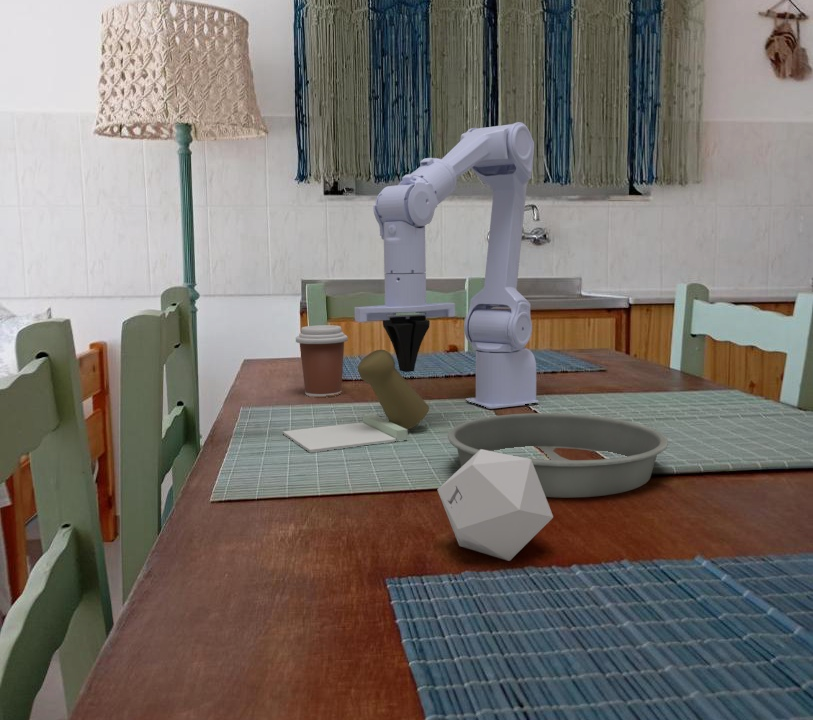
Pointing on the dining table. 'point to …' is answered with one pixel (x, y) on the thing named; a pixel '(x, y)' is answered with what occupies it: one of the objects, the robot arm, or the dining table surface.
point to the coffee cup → (322, 359)
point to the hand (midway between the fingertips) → (406, 370)
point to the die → (495, 503)
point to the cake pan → (569, 433)
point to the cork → (392, 390)
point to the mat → (337, 437)
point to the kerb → (386, 426)
